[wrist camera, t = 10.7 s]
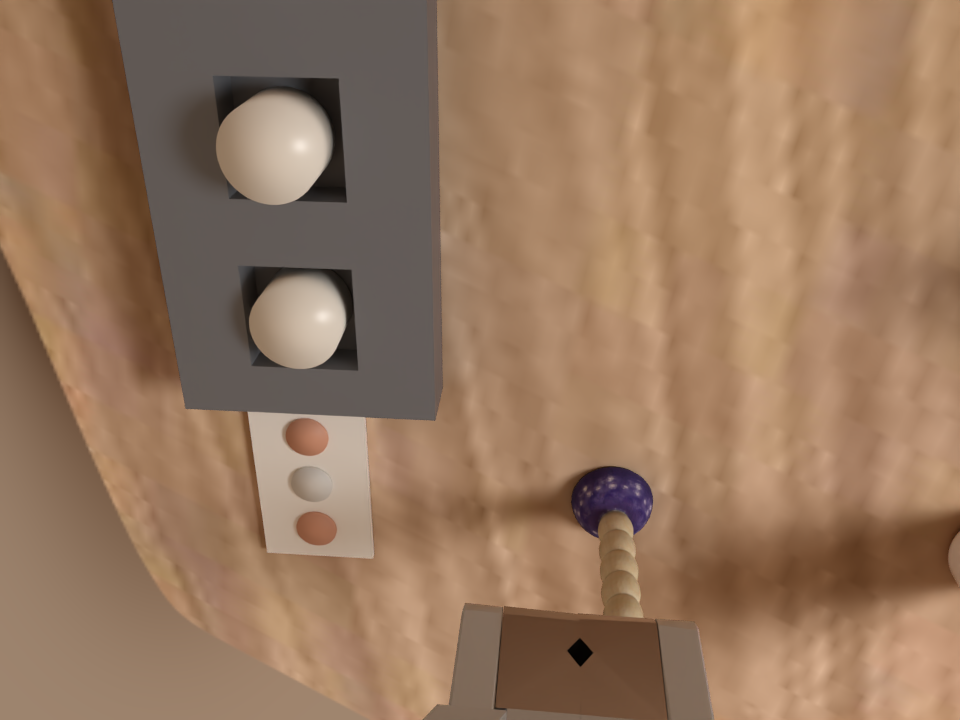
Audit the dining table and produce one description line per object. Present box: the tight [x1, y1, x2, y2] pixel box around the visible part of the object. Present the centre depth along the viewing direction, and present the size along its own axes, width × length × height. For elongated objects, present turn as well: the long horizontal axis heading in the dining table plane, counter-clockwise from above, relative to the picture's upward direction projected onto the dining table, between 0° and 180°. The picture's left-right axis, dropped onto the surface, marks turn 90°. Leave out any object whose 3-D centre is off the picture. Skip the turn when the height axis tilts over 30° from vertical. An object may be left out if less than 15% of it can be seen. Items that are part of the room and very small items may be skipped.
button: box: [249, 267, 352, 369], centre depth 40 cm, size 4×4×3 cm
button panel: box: [112, 0, 443, 421], centre depth 37 cm, size 26×12×3 cm, turn 0°
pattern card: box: [248, 412, 374, 559], centre depth 47 cm, size 10×6×1 cm, turn 0°
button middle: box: [216, 86, 335, 205], centre depth 35 cm, size 4×4×3 cm
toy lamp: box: [571, 467, 653, 618], centre depth 39 cm, size 5×5×17 cm
